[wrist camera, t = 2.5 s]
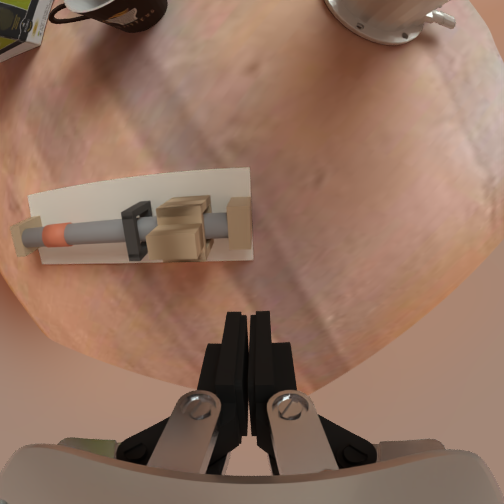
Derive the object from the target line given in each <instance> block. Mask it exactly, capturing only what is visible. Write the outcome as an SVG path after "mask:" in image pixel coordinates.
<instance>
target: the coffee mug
mask: <svg viewBox="0 0 504 504" xmlns="http://www.w3.org/2000/svg"><path fill="white" fill-rule="evenodd" d="M66 7H67V8H68V9H69V10H70V11H72V12H75V13H78V14H81V15H84V16H80V17H76V18H71V19H56V18H54V15H55V14H56V13H57V12H58V11H59V10H61V9H64V8H66ZM166 9H167V0H64V4H61V5H59V6H57V7H56V8H54V9H53V10H52V11H51V13H50V14H49V21H50V22H51V23H54V24H63V23H70V22H76V21H81V20H85V19H90V18H92V19H95V20H98V21H100V22H103V23H106V24H108V25H111V26H113V27H115V28H118V29H120V30H123V31H125V32H129V33H136V32H141V31H144V30H146V29H149V28H150V27H152V26H153V25H155V24H156V23H157V22H158V21H159V20H160V19H161V18H162V17H163V15H164V14H165V12H166Z"/></svg>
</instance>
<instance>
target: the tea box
mask: <svg viewBox="0 0 504 504" xmlns="http://www.w3.org/2000/svg"><path fill="white" fill-rule="evenodd" d="M52 3H53V0H0V62H3V61H5V60H7V59H10V58H12V57H14V56H16V55H18V54H21V53H23V52H25V51H28V50H30V49H33V48H35V47H38V46H40V45H41V41H42V37H43V33H44V29H45V26H46V22H47V19H48V15H49V12H50V9H51V6H52Z"/></svg>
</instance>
